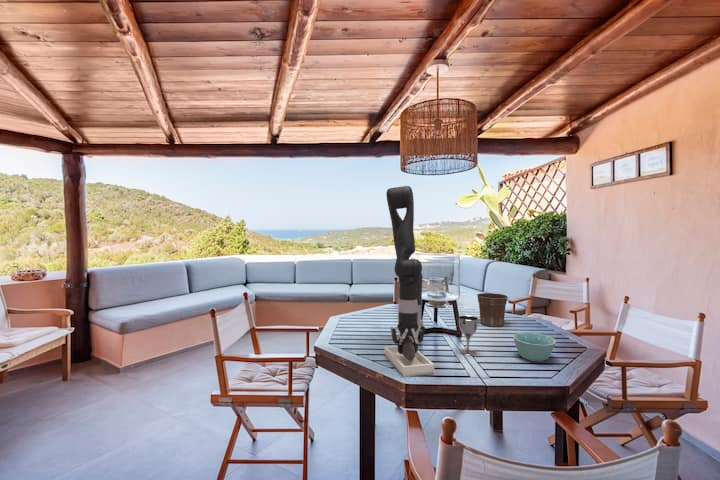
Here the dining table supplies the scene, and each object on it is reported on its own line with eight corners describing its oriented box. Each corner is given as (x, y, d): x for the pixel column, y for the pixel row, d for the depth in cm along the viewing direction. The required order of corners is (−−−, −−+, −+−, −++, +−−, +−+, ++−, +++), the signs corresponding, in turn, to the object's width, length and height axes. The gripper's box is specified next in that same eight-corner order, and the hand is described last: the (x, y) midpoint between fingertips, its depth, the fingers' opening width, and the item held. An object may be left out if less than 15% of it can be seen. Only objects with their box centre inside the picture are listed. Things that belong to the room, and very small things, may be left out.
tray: (411, 352, 149) (411, 344, 149) (434, 373, 128) (434, 364, 128) (384, 355, 146) (384, 347, 146) (403, 377, 125) (403, 367, 125)
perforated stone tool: (418, 364, 130) (418, 345, 130) (404, 364, 129) (404, 345, 129) (410, 350, 145) (410, 333, 144) (397, 350, 144) (397, 333, 144)
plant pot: (474, 319, 204) (474, 292, 204) (502, 320, 202) (503, 293, 201) (479, 327, 188) (480, 297, 187) (511, 328, 186) (511, 298, 185)
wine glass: (467, 356, 145) (468, 321, 144) (454, 350, 152) (454, 316, 151) (481, 353, 148) (482, 318, 148) (468, 348, 156) (468, 314, 155)
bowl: (554, 368, 133) (554, 347, 133) (510, 360, 141) (510, 340, 141) (556, 355, 146) (556, 336, 146) (515, 348, 155) (516, 330, 155)
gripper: (421, 307, 142) (420, 348, 142) (387, 309, 138) (387, 351, 139) (429, 311, 135) (428, 354, 135) (393, 313, 131) (393, 358, 132)
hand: (407, 352), depth 137 cm, fingers closed on perforated stone tool, 5 cm apart
